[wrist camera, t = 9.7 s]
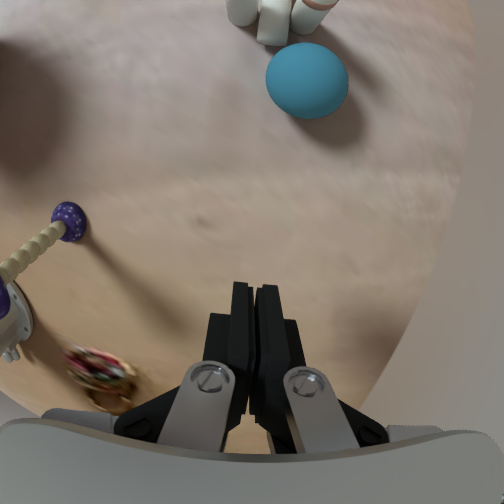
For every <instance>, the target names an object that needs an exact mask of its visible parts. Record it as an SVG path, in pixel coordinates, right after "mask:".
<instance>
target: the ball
mask: <svg viewBox="0 0 504 504" xmlns="http://www.w3.org/2000/svg"><path fill="white" fill-rule="evenodd" d="M266 86H267V90H268V92H269V95H270V97H271V98H272V100H273V101H274V102H275V104H276V105H277V106H278V107H279V108H281V109H282V110H283V111H285V112H286V113H288V114H290V115H292V116H295V117H298V118H304V119H315V118H320V117H324V116H326V115H328V114H330V113H332V112H333V111H335V110H336V109H337V108H338V107H339V106H340V105H341V104H342V102H343V101H344V99H345V97H346V94H347V91H348V75H347V72H346V69H345V67H344V65H343V63H342V62H341V60H340V59H339V58H338V57H337V56H336V55H335V54H334V53H333V52H332V51H330V50H329V49H327V48H325V47H323V46H321V45H317V44H314V43H296V44H292V45H289V46H287V47H285V48H283V49H281V50H280V51H279V52H278V53H276V54H275V56H274V57H273V58H272V59H271V61H270V63H269V65H268V68H267V71H266Z"/></svg>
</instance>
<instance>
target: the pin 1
mask: <svg viewBox="0 0 504 504" xmlns="http://www.w3.org/2000/svg"><path fill="white" fill-rule="evenodd" d="M225 1H226V7H227V12H228V18H229V20H230V22H231V23H232V24H234V25H236V26H240V27H245V26H249V25H251V24H253V23H254V22H255V21H256V19H257V12H258V1H259V0H225Z"/></svg>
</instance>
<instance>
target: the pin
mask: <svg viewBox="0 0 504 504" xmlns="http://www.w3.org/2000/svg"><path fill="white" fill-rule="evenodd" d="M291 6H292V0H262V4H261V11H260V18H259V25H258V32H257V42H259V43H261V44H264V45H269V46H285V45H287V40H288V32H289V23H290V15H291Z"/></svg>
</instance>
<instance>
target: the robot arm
mask: <svg viewBox="0 0 504 504" xmlns="http://www.w3.org/2000/svg"><path fill="white" fill-rule="evenodd" d="M6 287H7V290H8V293H9V296H10V301H11V305H10V310H9V313H8V314H7V315H6V316H5V317H4V318H2V319H1V320H0V357H1V356H2V355H3V357H4V359H5V361H6V362H8V363H10V362H12V361H13V360H19V359H20V354H19V352H18V350H17V349H16V345H17V344H18V342H19V341H25V340H27V339H28V338H29V337H30V335H31V334H32V332H33V319H32V314H31V311H30V308H29V306H28V304H27V302H26V300H25V298H24V296H23V294H22V293H21V291H20V290H19V288H18V287H17V285H16V284H15V283H14V282H13V281H12V282H10V283H8V284H7V286H6ZM248 397H249V413H250V415H255V423H259V425H260V426H261V427H263V428H264V429H265V430H267V432H266V433H267V440H268V444H269V448H270V452H271V454H237V453H224V451H225V447H226V442H227V438H228V433H229V431H230V430H232V429H233V428H235V427H236V426H237V425H239V424H240V420H241V415H242V414H245V412H246V407H247V402H248ZM0 504H504V455H503V453H502V451H501V450H500V448H499V447H498V445H497V444H496V442H495V441H494V440H493V439H492V438H491V437H490V436H488V435H487V434H485V433H482V432H477V431H471V430H449V431H442V430H441V429H440V428H438V427H436V426H400V425H398V426H397V425H388V427H387V428H384V427H383V426H382V425H380V424H379V423H378V422H376V421H374V420H373V419H370V418H369V417H367V416H366V415H364V414H362V413H360V412H359V411H357V410H355V409H354V408H352V407H350V406H349V405H347V404H345V403H344V402H342V401H341V400H339V399H337V397H336V395H335V393H334V391H333V389H332V386H331V384H330V382H329V380H328V379H327V377H326V376H325V375H324V374H323V373H322V372H321V371H319V370H317V369H315V368H311V367H306V362H305V358H304V353H303V349H302V344H301V340H300V336H299V331H298V327H297V323H296V320H291V319H284V318H283V313H282V307H281V302H280V296H279V291H278V286H277V285H266V284H263V286H262V288H258V287H257V291H256V298H255V305H254V296H253V287H248V283H244V282H234V284H233V294H232V304H231V314H230V315H228V314H218V313H210V318H209V324H208V330H207V336H206V342H205V348H204V354H203V360H202V361H201V362H198V363H195V364H194V365H192V366H191V367H189V369H188V370H187V372H186V374H185V376H184V379H183V381H182V383H181V385H180V386H178V387H176V388H174V389H172V390H170V391H168V392H166V393H164V394H162V395H160V396H158V397H156V398H154V399H152V400H150V401H148V402H146V403H144V404H142V405H140V406H138V407H136V408H133V409H131V410H129V411H127V412H125V413H123V414H122V415H120V416H112V415H111V413H101V412H88V411H78V410H69V409H61V408H52V409H50V410H48V411H46V412H45V413H44V414H43V415H42V417H41V418H20V419H14V420H11V421H8V422H6V423H5V424H3V425H2V426H1V427H0Z"/></svg>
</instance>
